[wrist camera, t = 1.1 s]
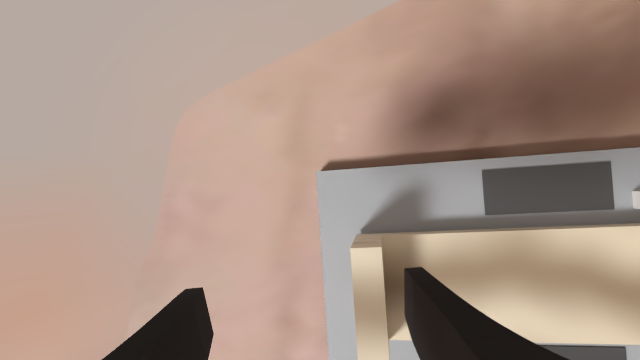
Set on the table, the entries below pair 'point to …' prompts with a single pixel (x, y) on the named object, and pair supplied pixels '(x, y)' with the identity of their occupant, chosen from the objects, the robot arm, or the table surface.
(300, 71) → the table surface
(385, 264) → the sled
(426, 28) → the table surface
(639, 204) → the tunnel
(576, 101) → the table surface
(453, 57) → the table surface
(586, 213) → the plate
